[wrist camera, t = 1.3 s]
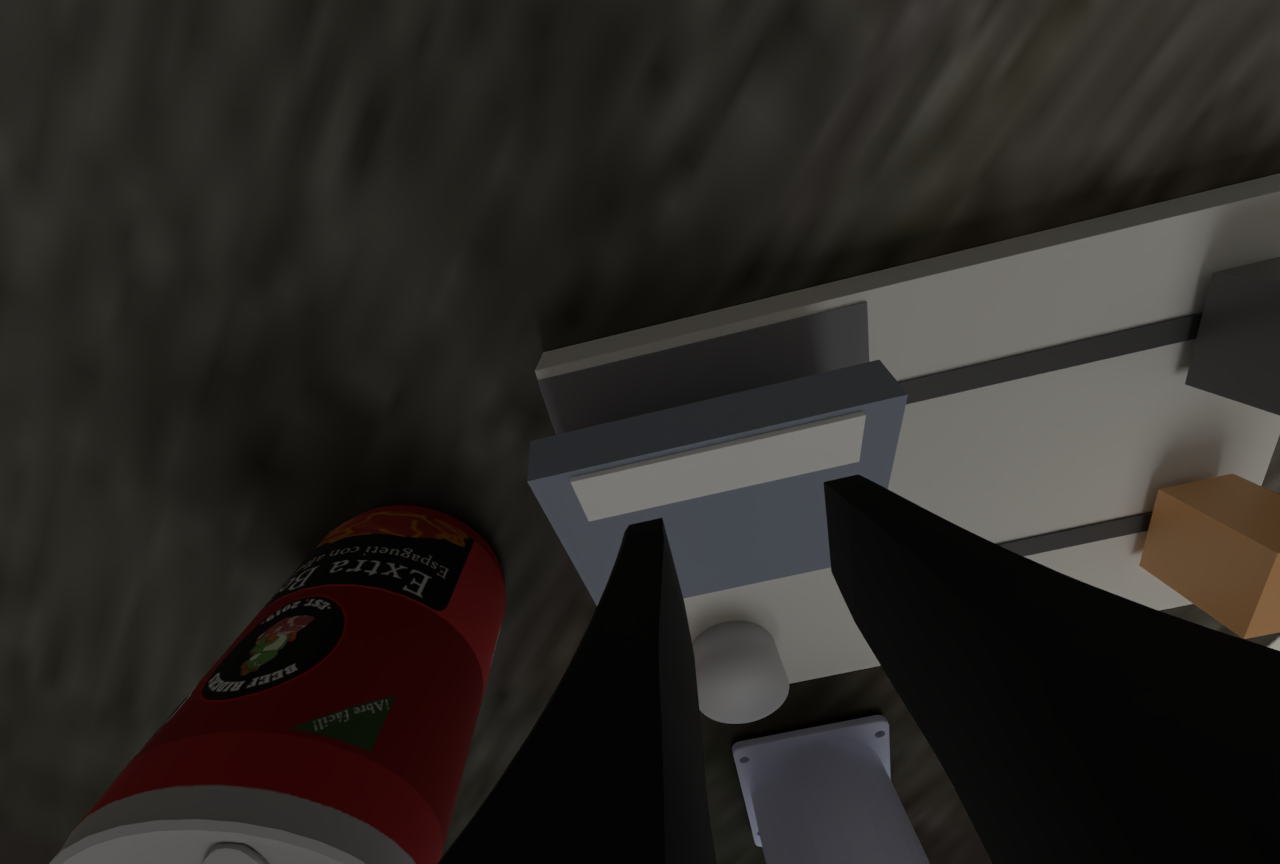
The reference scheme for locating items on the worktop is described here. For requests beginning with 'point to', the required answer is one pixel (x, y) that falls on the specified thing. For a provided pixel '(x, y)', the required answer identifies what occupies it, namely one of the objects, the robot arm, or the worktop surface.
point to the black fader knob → (1241, 337)
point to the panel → (970, 408)
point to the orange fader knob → (1220, 550)
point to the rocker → (721, 477)
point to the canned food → (323, 713)
